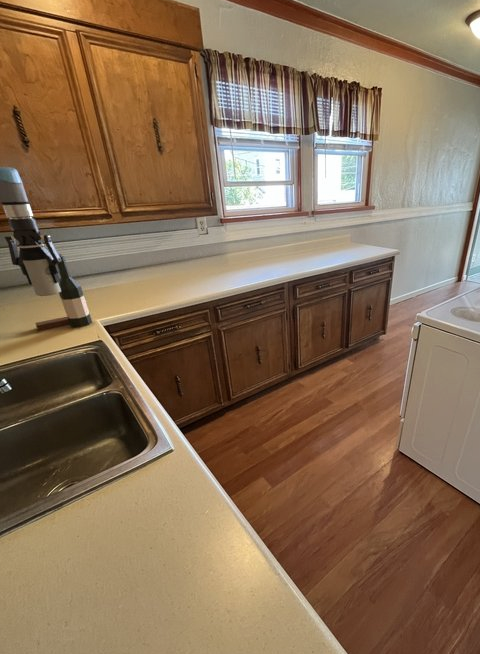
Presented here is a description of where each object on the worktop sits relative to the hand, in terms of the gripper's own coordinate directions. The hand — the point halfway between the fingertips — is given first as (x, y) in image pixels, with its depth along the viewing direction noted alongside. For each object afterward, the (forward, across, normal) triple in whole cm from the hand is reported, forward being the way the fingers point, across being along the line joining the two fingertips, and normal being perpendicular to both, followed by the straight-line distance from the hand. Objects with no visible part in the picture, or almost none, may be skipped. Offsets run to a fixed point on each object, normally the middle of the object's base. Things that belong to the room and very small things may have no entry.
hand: (45, 282), depth 123 cm
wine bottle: (+22, -2, -12) cm, 25 cm away
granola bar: (+22, +10, -12) cm, 27 cm away
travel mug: (+4, 0, 0) cm, 4 cm away
